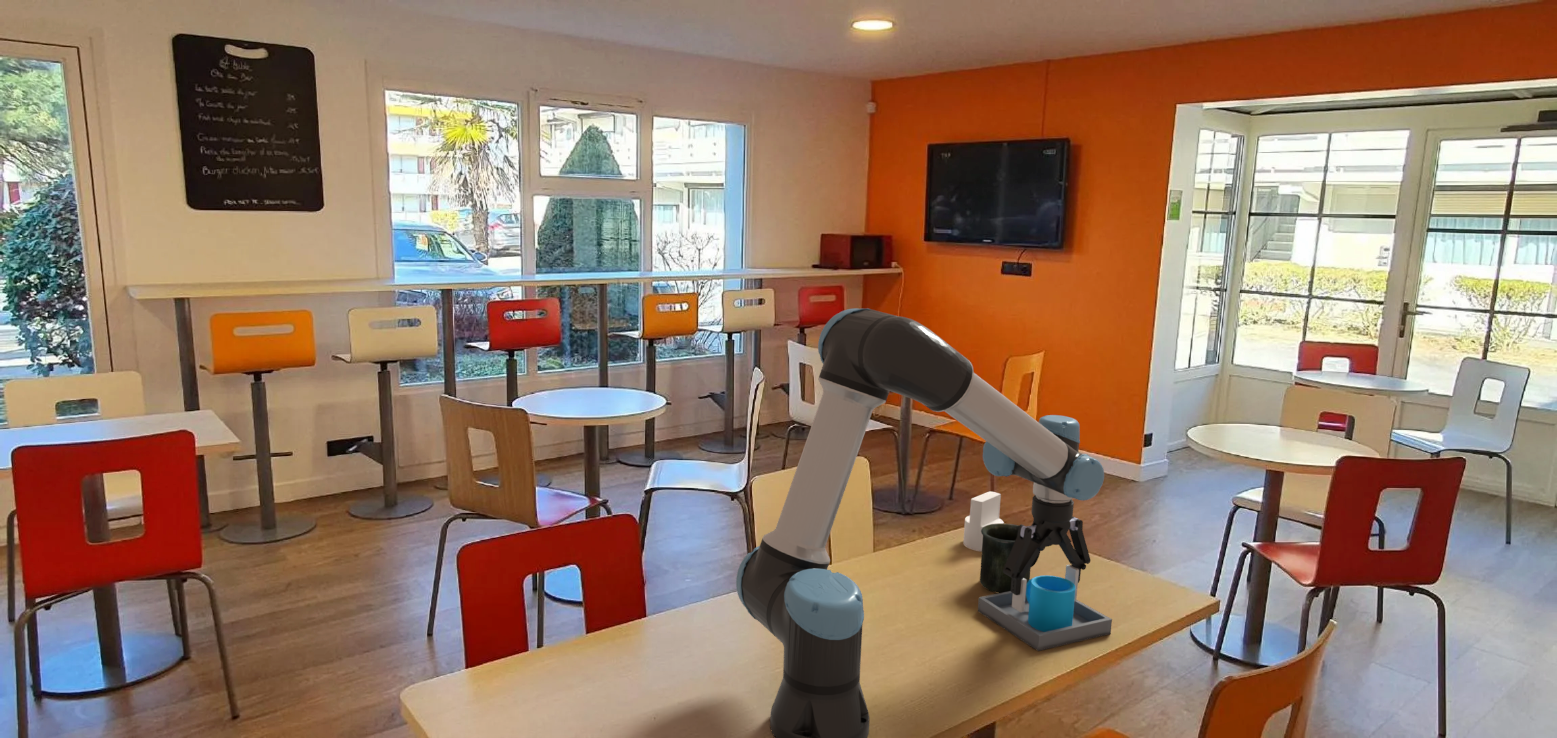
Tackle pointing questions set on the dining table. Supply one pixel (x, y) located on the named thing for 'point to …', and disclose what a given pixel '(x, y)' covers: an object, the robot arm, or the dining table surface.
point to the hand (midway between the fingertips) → (1044, 604)
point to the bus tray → (1015, 622)
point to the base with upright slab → (981, 518)
